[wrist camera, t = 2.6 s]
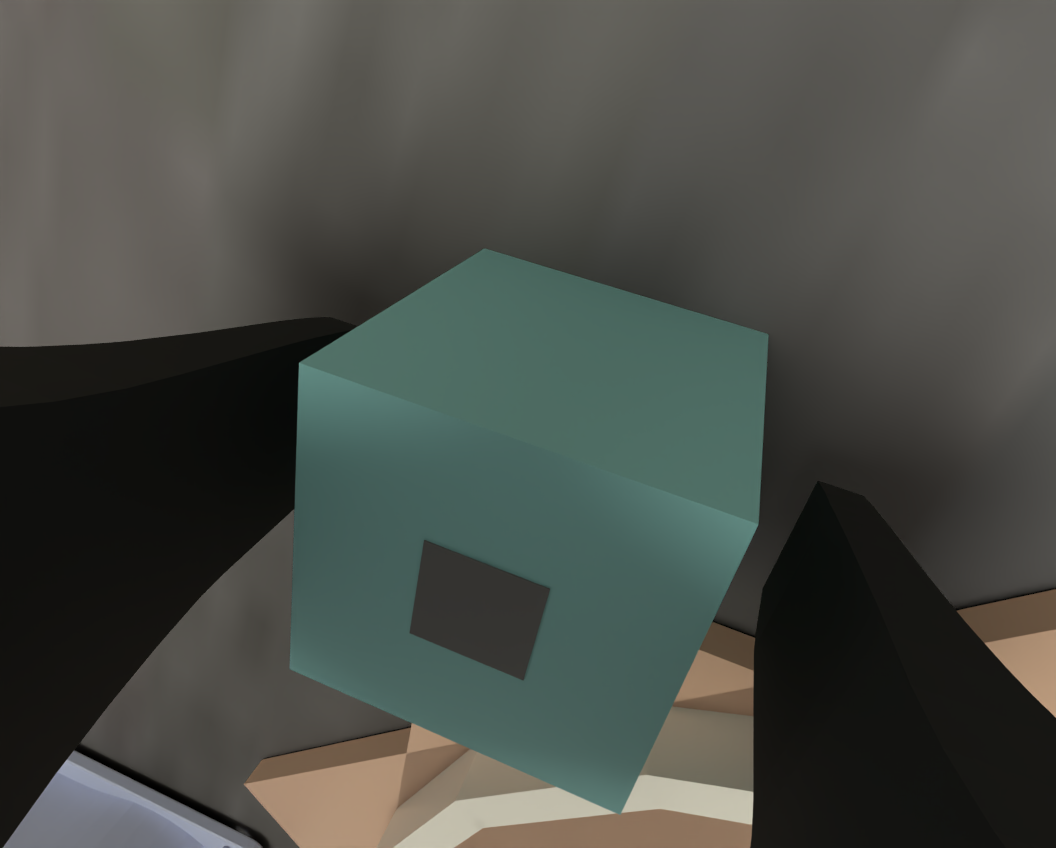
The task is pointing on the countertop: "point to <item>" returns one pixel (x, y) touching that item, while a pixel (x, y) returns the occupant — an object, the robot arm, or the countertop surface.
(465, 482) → the bead
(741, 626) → the countertop surface
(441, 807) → the ring tray
